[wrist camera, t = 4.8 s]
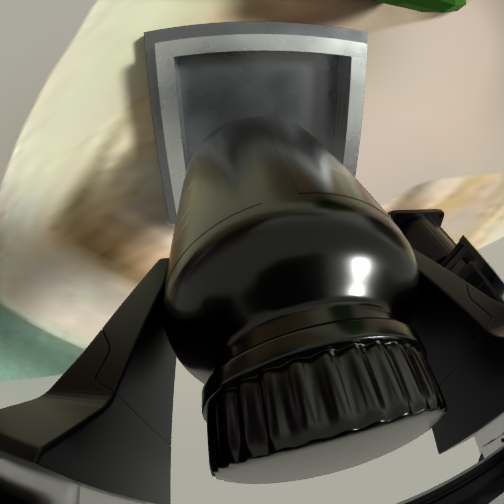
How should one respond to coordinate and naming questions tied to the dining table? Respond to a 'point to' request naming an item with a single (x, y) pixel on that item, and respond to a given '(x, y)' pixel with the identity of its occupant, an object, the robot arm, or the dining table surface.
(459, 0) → the bell pepper
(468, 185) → the dining table surface
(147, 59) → the gray square tray
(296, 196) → the supplement bottle
